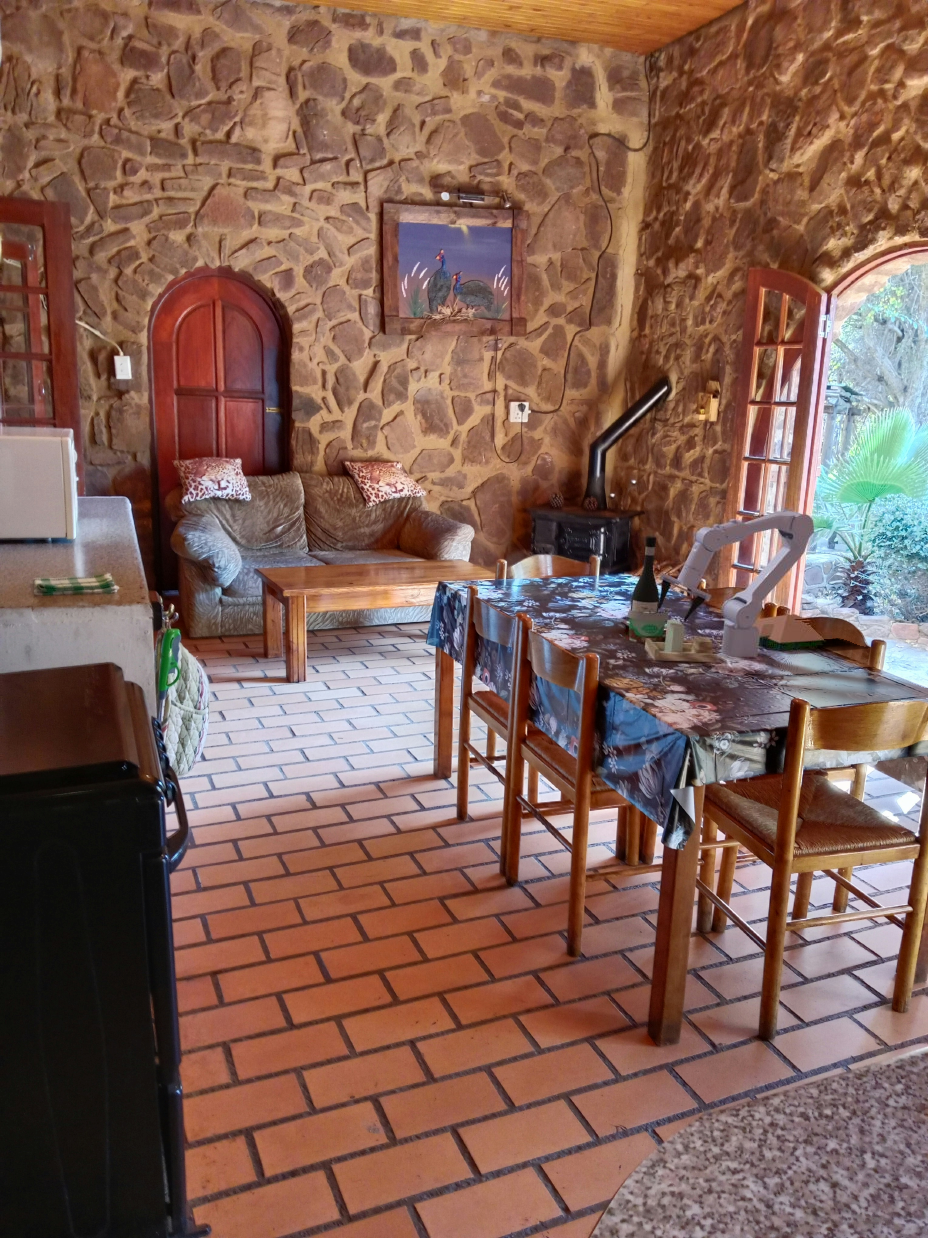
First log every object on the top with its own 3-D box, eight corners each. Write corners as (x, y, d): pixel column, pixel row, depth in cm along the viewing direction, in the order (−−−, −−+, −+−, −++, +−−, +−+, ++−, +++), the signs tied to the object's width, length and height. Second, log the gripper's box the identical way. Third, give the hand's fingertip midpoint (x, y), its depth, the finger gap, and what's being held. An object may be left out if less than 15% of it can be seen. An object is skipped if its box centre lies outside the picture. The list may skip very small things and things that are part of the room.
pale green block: (674, 651, 277) (678, 620, 275) (681, 658, 270) (684, 626, 268) (664, 651, 277) (667, 619, 275) (670, 658, 270) (673, 626, 268)
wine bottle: (655, 641, 290) (665, 539, 283) (627, 639, 292) (636, 537, 285) (655, 635, 298) (665, 535, 291) (628, 632, 300) (637, 533, 292)
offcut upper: (706, 644, 276) (707, 637, 276) (711, 649, 271) (712, 642, 271) (693, 644, 276) (694, 636, 275) (698, 649, 271) (699, 641, 270)
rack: (707, 654, 280) (709, 640, 279) (719, 665, 269) (721, 651, 268) (644, 652, 279) (645, 638, 278) (653, 663, 268) (655, 649, 267)
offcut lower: (705, 653, 277) (706, 644, 277) (711, 659, 271) (712, 650, 271) (691, 652, 277) (692, 643, 276) (697, 658, 271) (698, 649, 271)
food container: (633, 649, 282) (636, 614, 279) (624, 643, 288) (627, 609, 285) (673, 647, 285) (676, 613, 283) (663, 641, 291) (666, 608, 288)
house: (721, 633, 305) (724, 608, 304) (807, 628, 318) (811, 603, 316) (770, 654, 285) (774, 626, 283) (860, 647, 297) (864, 620, 295)
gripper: (668, 557, 267) (646, 603, 269) (718, 580, 264) (695, 626, 266) (669, 558, 274) (648, 602, 276) (719, 580, 271) (696, 625, 273)
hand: (671, 614), depth 272 cm, fingers open, 7 cm apart
